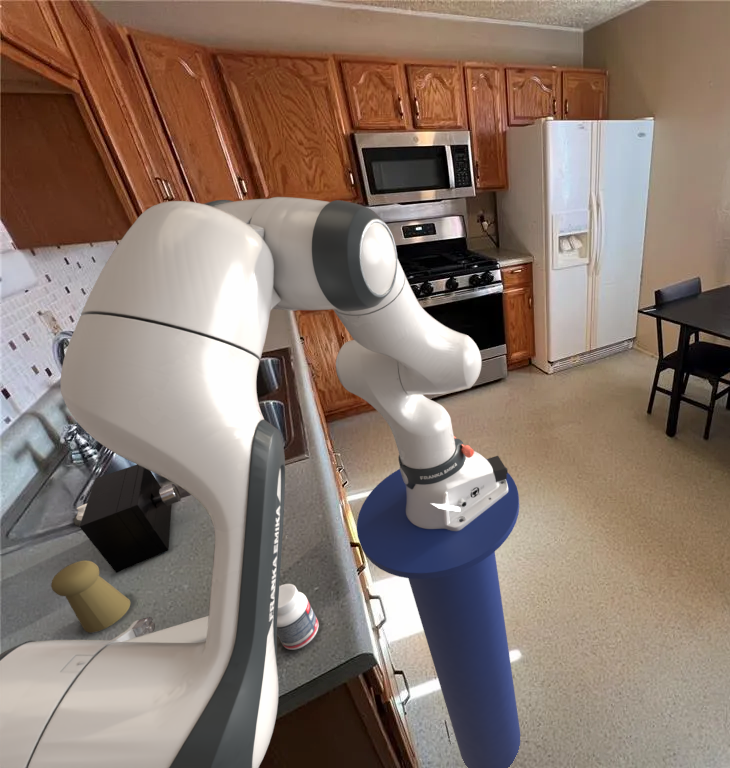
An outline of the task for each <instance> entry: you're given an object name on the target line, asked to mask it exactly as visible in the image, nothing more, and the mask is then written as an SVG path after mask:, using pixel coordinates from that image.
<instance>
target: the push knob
mask: <svg viewBox="0 0 730 768" xmlns="http://www.w3.org/2000/svg"><path fill="white" fill-rule="evenodd" d="M159 494H160V495H158V496H156V497H153V498H151V499H150V500H151V501H152V503H153V504H157V503H159V502H162V501H163V503H164V504H165V505H166V506H168V505H171V504H172V505H173V504H176V503H178V502H181V499H182V497H181V493H180V491H179V489H178V487H177V485H176V484H175V483H171V484H168V485H166V486H163V487H161V488H160V489H159Z"/></svg>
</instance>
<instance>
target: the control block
mask: <svg viewBox="0 0 730 768" xmlns="http://www.w3.org/2000/svg"><path fill="white" fill-rule="evenodd" d="M160 488H162V487H161V485H160V483H159V482H158V480H157V478H156V477H155V476H154V474H153V472H152V471H150V470H148V469H146V468H144V467H141V466H139V465H137V464H134V465H132V466H128V467H125V468H123V469H119V470H116V471H113V472H110V473H107V474H104V475H102V476H99V477H96V478H95V479H94V482H93V485H92V488H91V490H90V494H89V497H88V500H87V503H86V504H87V505H86V508H85V511H84V514H83V517H82V520H81V523H80V526H78V527H79V528H80V530H81V531H82V532H83V534H84V535H85V536H86V537H87V539H89V541H90V542H91V543H92V545H93V546H94V547H95V548H96V550H97V551H98V553H100V555H101V556H102V557H103V559H104V560H105V561H106V562H107V563H108V565H109V566H110V567H111V569H112V570H113V571H114V572H115V574H117V573H119V572H122V571H124V570H126V569H130V568H132V567H133V566H136V565H138V564H140V563H143V562H145V561H148V560H149V559H153V558H156V557H158V556H160V555H162V554H164V553H166V552H168V551H169V550H170V548H169V547H170V534H171V521H172V520H171V519H172V505H173V504H171V505H168V506H166V505H165V504H164V503H163V501H162V502H159V503H157V504H153V503H152V501H151V500H150V499H151V498H153V497H156V496H158V495H160V494H159V489H160Z"/></svg>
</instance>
